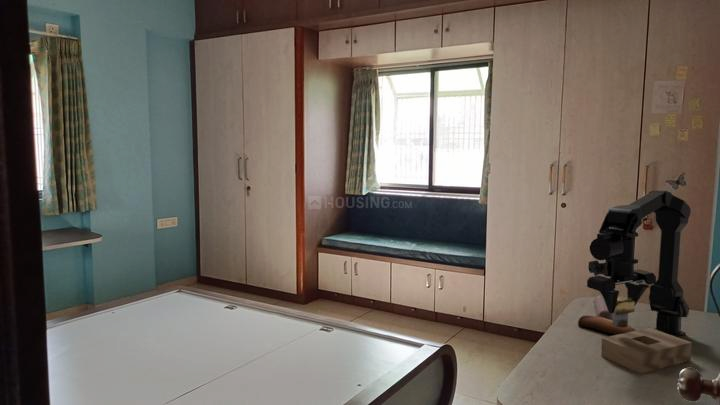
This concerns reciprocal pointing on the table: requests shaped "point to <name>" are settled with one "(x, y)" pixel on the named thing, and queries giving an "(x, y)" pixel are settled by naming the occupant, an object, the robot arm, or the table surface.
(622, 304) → the gold shiny rounded part
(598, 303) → the pale lilac cylinder
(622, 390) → the table surface
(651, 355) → the socket block
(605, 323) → the sunglasses case
